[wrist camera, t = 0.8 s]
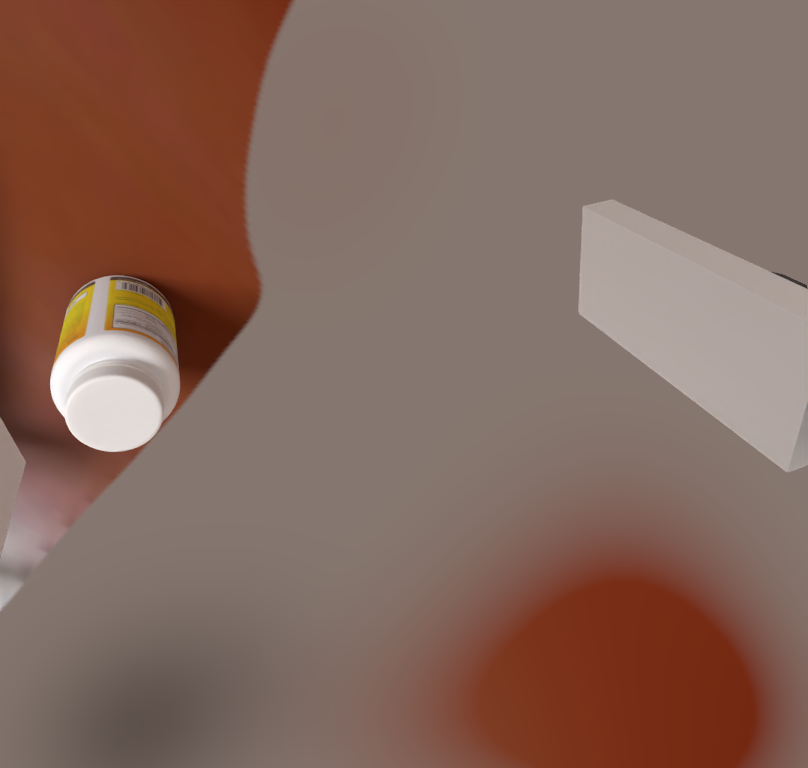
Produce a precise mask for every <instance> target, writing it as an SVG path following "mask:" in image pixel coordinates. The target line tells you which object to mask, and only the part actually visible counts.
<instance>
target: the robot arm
mask: <svg viewBox="0 0 808 768" xmlns="http://www.w3.org/2000/svg"><path fill="white" fill-rule="evenodd" d="M581 240H582V241H581V264H580V286H579V309H578V313H579V314H580V315H582V316H583V317H584V318H585V319H587V320H588V321H589V322H591V323H592V324H593V325H595V326H596V327H597V328H599V329H600V330H601V331H603V332H604V333H605V334H606V335H608V336H609V337H610V338H612V339H613V340H614V341H616V342H617V343H618V344H620V345H621V346H622V347H623V348H625V349H626V350H627V351H629V352H630V353H631V354H633V355H634V356H635V357H637V358H638V359H639V360H640V361H642V362H643V363H644V364H646V365H647V366H648V367H650V368H651V369H652V370H654V371H655V372H656V373H658V374H659V375H660V376H662V377H663V378H664V379H665V380H667V381H668V382H670V383H671V384H672V385H673V386H675V387H676V388H677V389H679V390H680V391H681V392H682V393H684V394H685V395H686V396H688V397H689V398H690V399H692V400H693V401H694V402H696V403H697V404H698V405H699V406H701V407H702V408H703V409H705V410H706V411H707V412H709V413H710V414H711V415H713V416H714V417H715V418H716V419H718V420H719V421H720V422H722V423H723V424H724V425H726V426H727V427H728V428H730V429H731V430H732V431H734V432H735V433H736V434H737V435H739V436H740V437H741V438H743V439H744V440H745V441H747V442H748V443H749V444H751V445H752V446H753V447H755V448H756V449H757V450H759V451H760V452H761V453H763V454H764V455H765V456H766V457H768V458H769V459H770V460H772V461H773V462H774V463H775V464H777V465H778V466H779V467H781V468H782V469H783V470H785V471H786V472H790V471H793V470H796V469H799V468H801V467H804V466H807V465H808V288H807V286H806V285H805V284H803V283H801V282H798V281H796V280H793V279H791V278H789V277H787V276H785V275H783V274H778V273H774V272H770V271H767V270H764V269H763V268H761V267H758V266H756V265H754V264H752V263H750V262H747V261H745V260H743V259H741V258H739V257H736V256H734V255H732V254H730V253H728V252H726V251H724V250H721V249H719V248H717V247H715V246H712V245H710V244H708V243H706V242H704V241H702V240H699V239H697V238H695V237H693V236H691V235H689V234H686V233H684V232H682V231H680V230H678V229H676V228H673V227H671V226H669V225H667V224H665V223H662V222H660V221H658V220H656V219H654V218H652V217H649V216H647V215H645V214H643V213H641V212H639V211H636V210H634V209H632V208H630V207H628V206H625V205H623V204H621V203H619V202H617V201H615V200H608V201H604V202H599V203H595V204H591V205H586V206H583V216H582V239H581ZM25 464H26V461H25V460H24V458H23V456H22V454H21V453H20V451H19V449H18V447H17V446H16V444H15V442H14V440H13V439H12V437H11V435H10V433H9V432H8V430H7V428H6V426H5V425H4V423H3V421H2V419H1V418H0V557H1V553H2V550H3V546H4V542H5V539H6V535H7V531H8V527H9V524H10V520H11V516H12V513H13V509H14V505H15V501H16V498H17V494H18V490H19V487H20V483H21V479H22V475H23V472H24V468H25Z"/></svg>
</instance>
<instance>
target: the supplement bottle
mask: <svg viewBox="0 0 808 768" xmlns="http://www.w3.org/2000/svg"><path fill="white" fill-rule="evenodd" d="M50 388H51V394H52V398H53V401H54V403H55V405H56V407H57V408H58V410H59V411H60V413H61V414H62V415H63V416H64V417H65V420H66V423H67V426H68V428H69V430H70V431H71V433H72V434H73V435H74V436H75V437H76V438H77V439H78V440H79V441H81V442H82V443H84V444H85V445H87V446H89V447H92V448H94V449H98V450H102V451H109V452H118V451H126V450H131V449H134V448H137V447H139V446H141V445H143V444H145V443H146V442H147V441H149V440H150V439H151V438H152V437H153V436H154V435H155V434H156V433H157V431H158V430H159V428H160V426H161V423H162V421H164V420H165V419H166V418H167V416H168V415H169V414H170V413H171V411H172V410H173V408H174V407H175V405H176V402H177V400H178V396H179V391H180V374H179V365H178V354H177V343H176V331H175V320H174V315H173V312H172V309H171V307H170V305H169V303H168V301H167V300H166V298H165V297H164V296H163V295H162V293H161V292H160V291H158V290H157V289H156V288H155V287H153V286H152V285H150V284H149V283H147V282H145V281H143V280H140V279H137V278H134V277H130V276H121V275H114V276H106V277H101V278H98V279H95V280H93V281H91V282H89V283H88V284H86V285H84V286H83V287H82V288H81V289H80V290H78V292H77V293H76V294H75V295H74V296H73V298H72V299H71V301H70V303H69V305H68V308H67V311H66V316H65V320H64V324H63V328H62V332H61V336H60V340H59V345H58V349H57V353H56V357H55V361H54V365H53V368H52V373H51V380H50Z"/></svg>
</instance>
